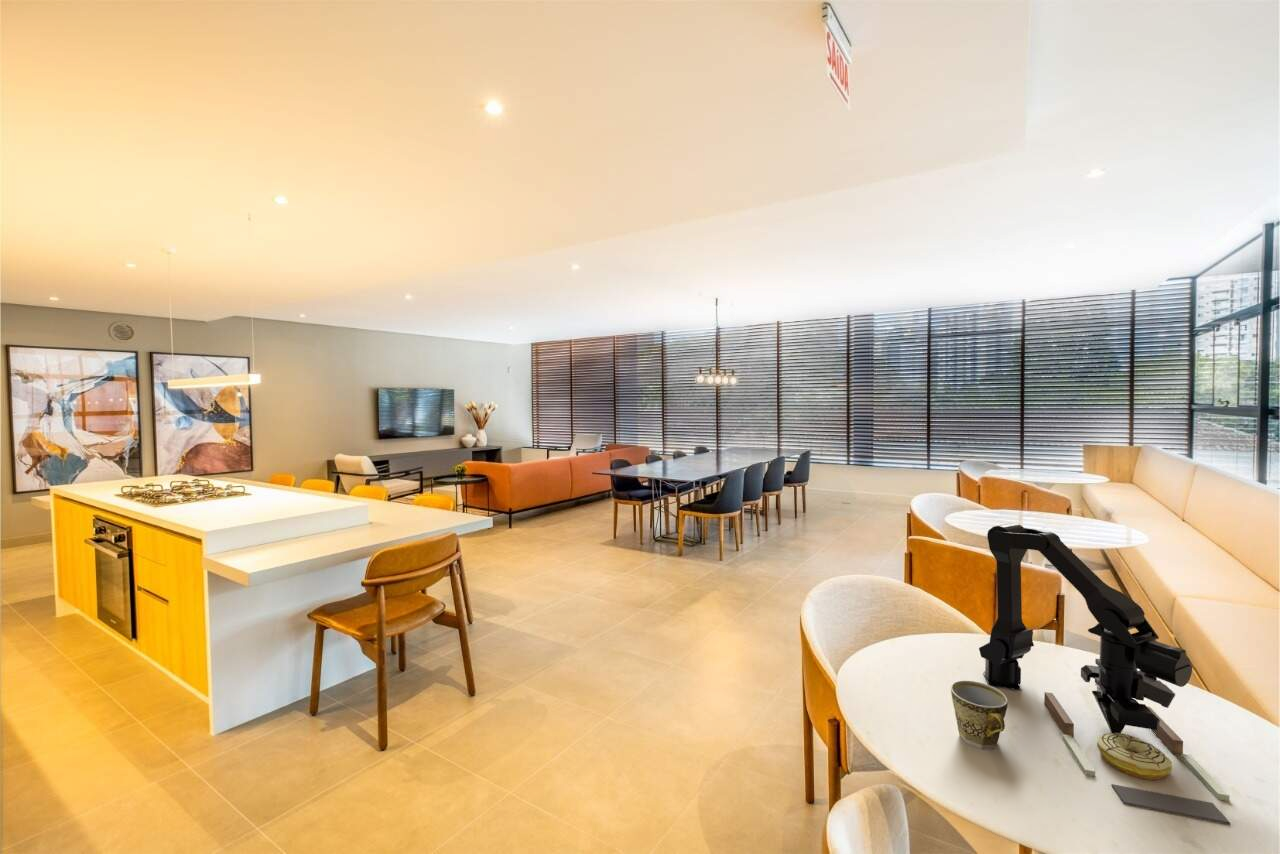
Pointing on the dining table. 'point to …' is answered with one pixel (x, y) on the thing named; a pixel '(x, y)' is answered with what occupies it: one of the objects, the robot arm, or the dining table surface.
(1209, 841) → the dining table surface
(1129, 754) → the decorated donut
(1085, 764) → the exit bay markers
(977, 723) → the ceramic cup
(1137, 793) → the dark grey rectangular plate
